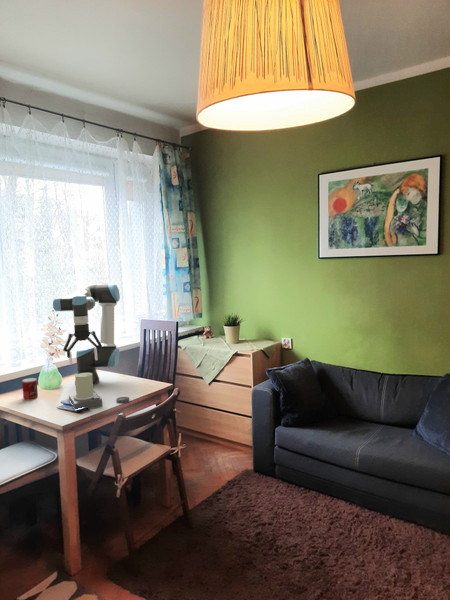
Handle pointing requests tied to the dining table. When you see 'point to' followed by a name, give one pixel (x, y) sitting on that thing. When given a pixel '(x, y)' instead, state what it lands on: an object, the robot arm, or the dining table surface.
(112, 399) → the dining table surface
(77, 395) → the can
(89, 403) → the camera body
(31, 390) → the canned food
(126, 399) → the lens cap
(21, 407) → the dining table surface
